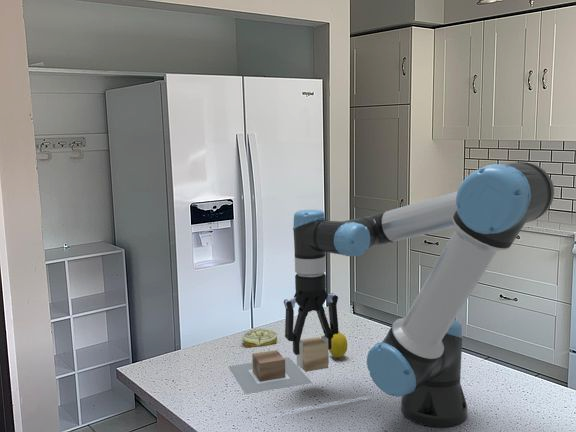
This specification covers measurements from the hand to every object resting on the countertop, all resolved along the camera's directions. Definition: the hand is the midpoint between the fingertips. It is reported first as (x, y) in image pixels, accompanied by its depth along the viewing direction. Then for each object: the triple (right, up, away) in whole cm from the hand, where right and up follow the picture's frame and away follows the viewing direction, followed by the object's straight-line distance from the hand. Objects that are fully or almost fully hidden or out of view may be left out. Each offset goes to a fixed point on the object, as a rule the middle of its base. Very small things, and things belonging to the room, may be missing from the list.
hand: (312, 363), depth 143 cm
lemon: (+8, -5, +25) cm, 27 cm away
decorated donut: (-15, -4, +37) cm, 40 cm away
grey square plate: (-11, -7, +12) cm, 18 cm away
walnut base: (-11, -6, +11) cm, 17 cm away
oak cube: (0, 0, 0) cm, 1 cm away
